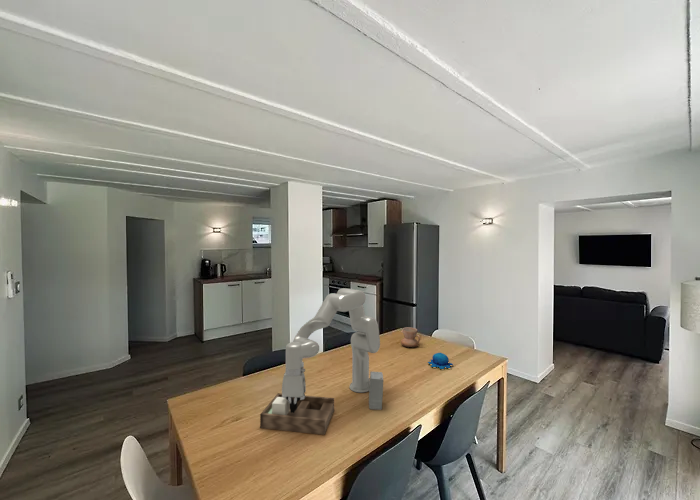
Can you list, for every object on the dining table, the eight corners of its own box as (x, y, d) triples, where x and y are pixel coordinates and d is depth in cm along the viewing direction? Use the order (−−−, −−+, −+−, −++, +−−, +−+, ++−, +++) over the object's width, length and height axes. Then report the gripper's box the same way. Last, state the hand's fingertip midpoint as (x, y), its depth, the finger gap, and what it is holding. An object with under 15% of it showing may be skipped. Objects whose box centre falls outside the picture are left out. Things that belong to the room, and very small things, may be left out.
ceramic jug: (396, 345, 243) (396, 328, 243) (405, 341, 253) (406, 325, 253) (414, 351, 230) (414, 333, 230) (424, 347, 240) (424, 329, 240)
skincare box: (368, 401, 152) (368, 370, 153) (382, 401, 152) (382, 371, 152) (369, 410, 144) (369, 377, 144) (383, 410, 144) (383, 378, 144)
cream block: (289, 410, 135) (289, 397, 136) (284, 417, 130) (284, 404, 130) (277, 409, 136) (277, 396, 136) (271, 416, 130) (272, 403, 130)
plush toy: (455, 364, 205) (455, 352, 205) (450, 372, 190) (450, 359, 190) (431, 359, 213) (431, 348, 213) (424, 367, 199) (424, 355, 199)
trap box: (334, 410, 143) (334, 398, 144) (324, 434, 124) (324, 420, 124) (277, 405, 148) (277, 393, 148) (260, 427, 129) (260, 414, 129)
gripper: (312, 368, 135) (311, 408, 135) (281, 366, 138) (280, 405, 137) (307, 375, 128) (306, 417, 128) (275, 372, 130) (274, 414, 130)
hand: (293, 411), depth 133 cm, fingers closed
